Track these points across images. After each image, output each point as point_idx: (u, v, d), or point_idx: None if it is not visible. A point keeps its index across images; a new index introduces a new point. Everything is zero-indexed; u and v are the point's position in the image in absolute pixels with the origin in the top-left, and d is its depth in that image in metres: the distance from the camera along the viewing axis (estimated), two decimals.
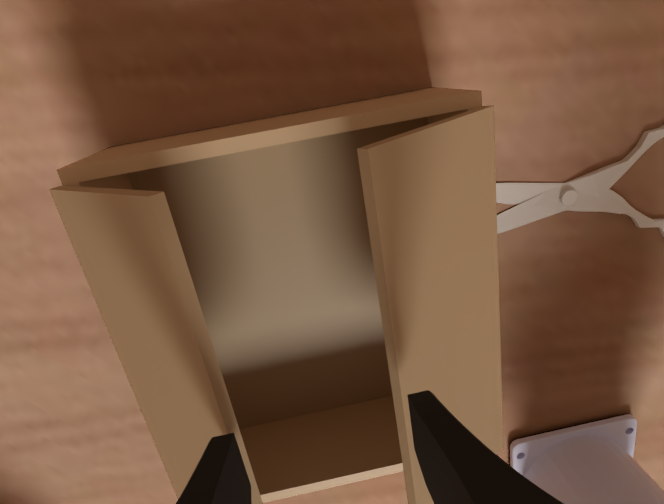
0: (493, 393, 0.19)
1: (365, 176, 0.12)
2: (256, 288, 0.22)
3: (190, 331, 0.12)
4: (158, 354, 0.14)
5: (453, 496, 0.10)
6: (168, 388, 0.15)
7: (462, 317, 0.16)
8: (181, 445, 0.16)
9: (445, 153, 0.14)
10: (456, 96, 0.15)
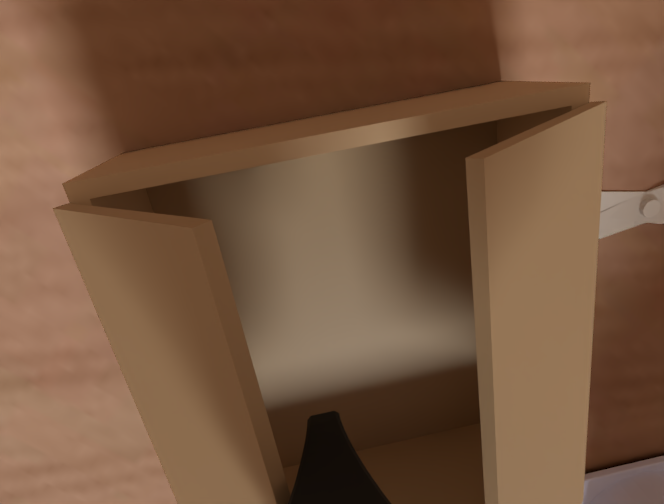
0: (579, 443, 0.16)
1: (473, 193, 0.09)
2: (291, 315, 0.19)
3: (240, 401, 0.09)
4: (191, 417, 0.11)
5: None
6: (202, 457, 0.12)
7: (559, 361, 0.13)
8: None
9: (559, 161, 0.11)
10: (559, 89, 0.12)
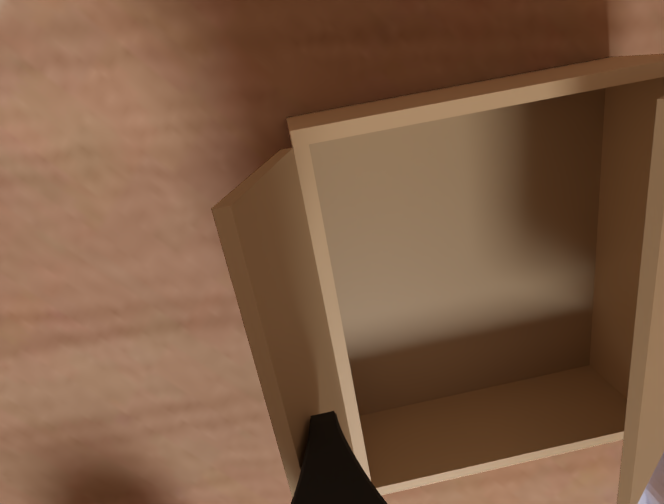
0: None
1: (661, 128, 0.11)
2: (414, 265, 0.21)
3: (258, 364, 0.10)
4: None
5: None
6: None
7: None
8: None
9: None
10: None
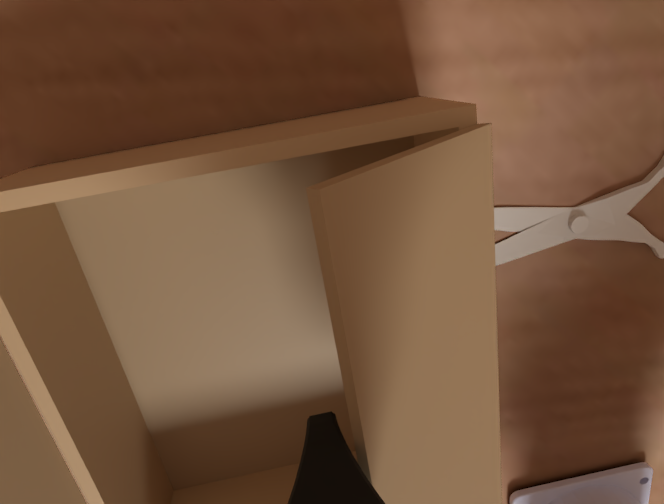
0: (490, 464, 0.16)
1: (317, 224, 0.09)
2: (214, 329, 0.18)
3: None
4: None
5: None
6: None
7: (452, 385, 0.13)
8: None
9: (429, 186, 0.10)
10: (444, 111, 0.12)
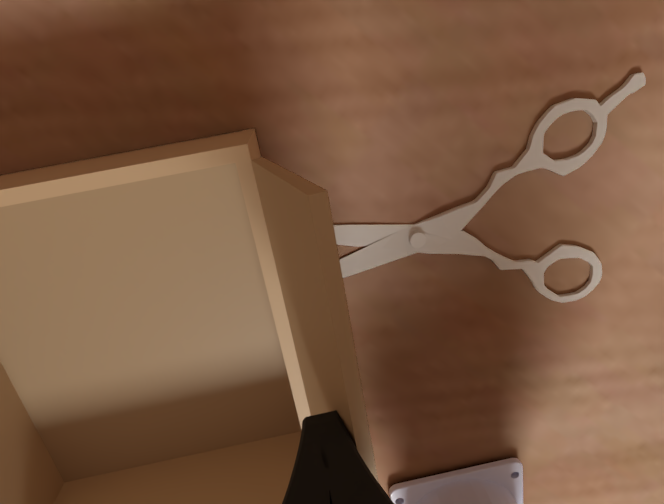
0: None
1: (321, 228, 0.09)
2: (85, 335, 0.20)
3: None
4: None
5: None
6: None
7: None
8: None
9: None
10: (220, 150, 0.14)
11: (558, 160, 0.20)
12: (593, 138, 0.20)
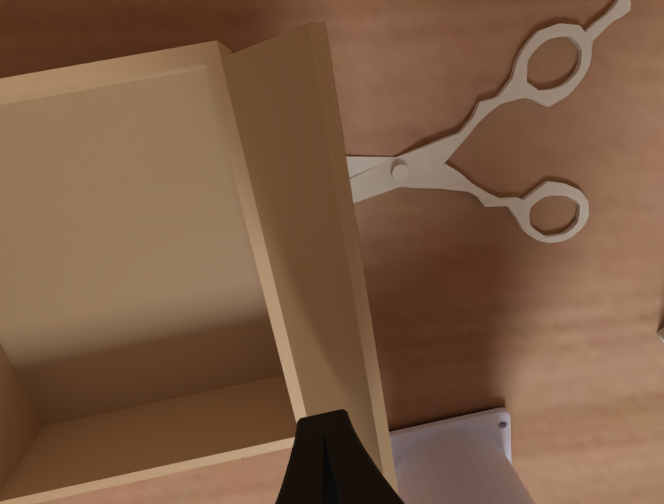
0: None
1: (320, 63, 0.09)
2: (62, 268, 0.20)
3: None
4: None
5: None
6: None
7: None
8: None
9: None
10: (189, 46, 0.14)
11: (542, 90, 0.20)
12: (578, 67, 0.20)
